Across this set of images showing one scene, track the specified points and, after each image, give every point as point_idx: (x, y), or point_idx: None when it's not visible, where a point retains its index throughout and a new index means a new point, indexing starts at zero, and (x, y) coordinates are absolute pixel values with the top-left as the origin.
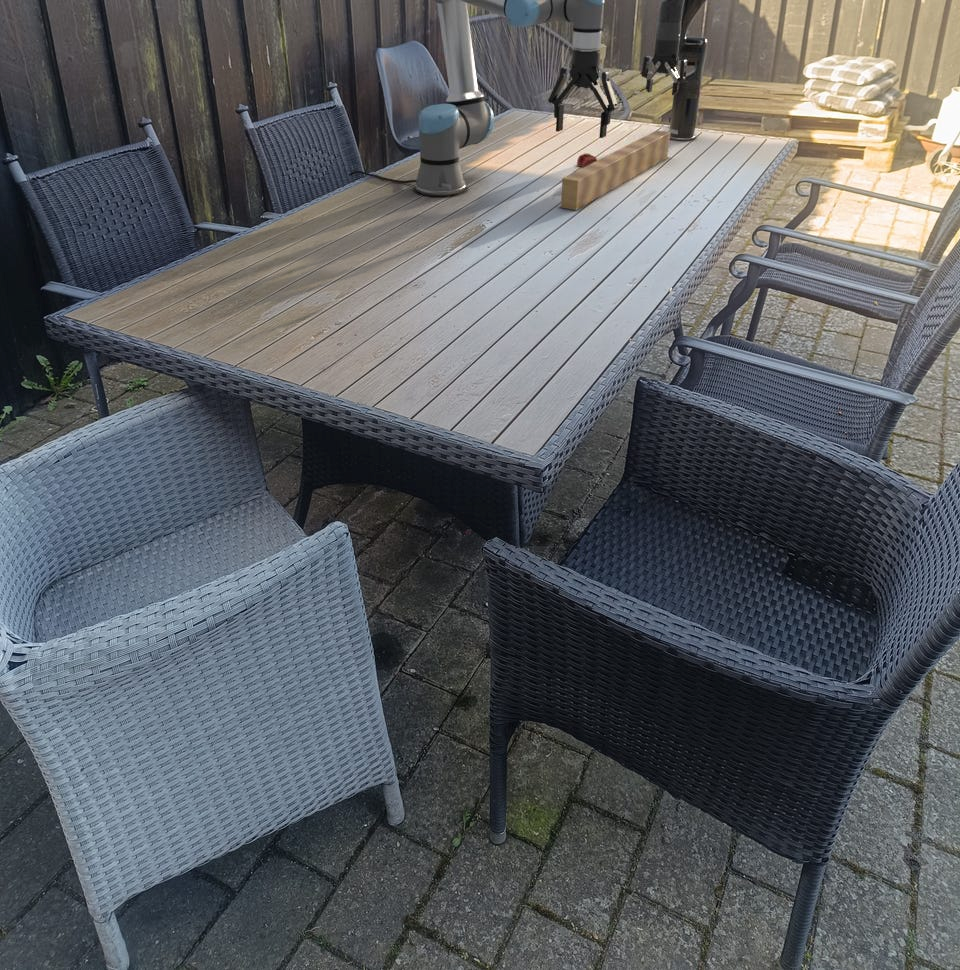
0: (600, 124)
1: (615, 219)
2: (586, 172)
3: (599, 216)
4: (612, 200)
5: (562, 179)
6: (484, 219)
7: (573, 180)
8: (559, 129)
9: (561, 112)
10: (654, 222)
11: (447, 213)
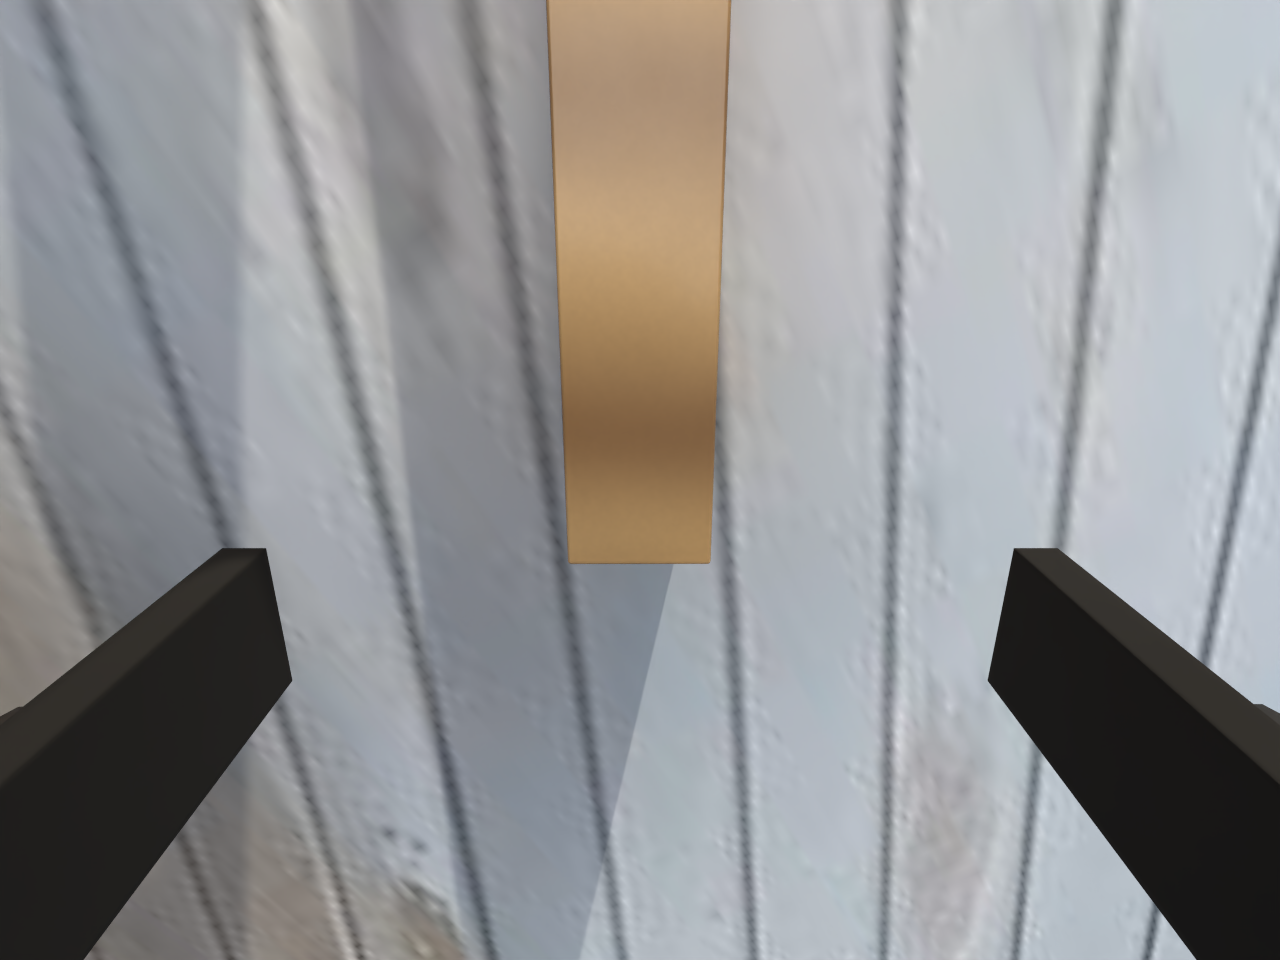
0: (1103, 834)
1: (970, 499)
2: (660, 305)
3: (864, 500)
4: (823, 135)
5: (570, 560)
6: (362, 828)
7: (670, 563)
8: (272, 659)
9: (80, 830)
10: (1212, 426)
11: None
